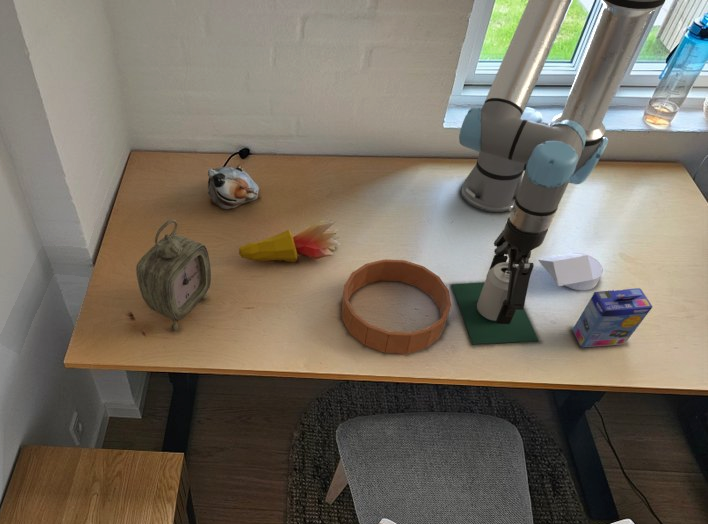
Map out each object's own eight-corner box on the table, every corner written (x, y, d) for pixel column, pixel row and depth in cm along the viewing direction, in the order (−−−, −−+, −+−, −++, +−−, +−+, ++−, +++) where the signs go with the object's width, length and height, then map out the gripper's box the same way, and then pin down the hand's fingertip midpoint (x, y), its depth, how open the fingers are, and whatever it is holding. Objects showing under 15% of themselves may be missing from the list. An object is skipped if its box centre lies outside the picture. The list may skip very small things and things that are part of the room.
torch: (243, 270, 150) (341, 247, 149) (244, 278, 142) (347, 255, 142) (236, 238, 147) (335, 215, 146) (237, 245, 139) (342, 221, 139)
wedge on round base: (553, 296, 136) (605, 286, 137) (564, 275, 131) (617, 264, 132) (532, 270, 141) (583, 260, 143) (542, 248, 136) (594, 238, 138)
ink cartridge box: (581, 349, 126) (610, 302, 115) (570, 329, 129) (597, 281, 118) (627, 345, 126) (660, 298, 115) (614, 326, 130) (646, 277, 119)
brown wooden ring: (342, 276, 142) (344, 257, 137) (439, 280, 140) (444, 261, 136) (341, 350, 128) (344, 332, 123) (450, 356, 126) (456, 337, 121)
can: (511, 302, 134) (528, 263, 125) (509, 326, 130) (526, 287, 121) (477, 295, 136) (491, 256, 127) (473, 319, 132) (488, 280, 122)
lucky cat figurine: (267, 189, 164) (270, 165, 151) (246, 225, 162) (247, 204, 149) (220, 164, 165) (218, 138, 152) (198, 200, 163) (195, 176, 149)
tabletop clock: (176, 338, 131) (158, 252, 112) (144, 323, 134) (121, 237, 115) (214, 297, 139) (203, 210, 120) (183, 283, 142) (167, 196, 123)
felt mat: (451, 285, 139) (451, 284, 139) (511, 282, 139) (511, 280, 139) (472, 345, 127) (472, 343, 127) (538, 341, 128) (538, 340, 127)
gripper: (497, 182, 122) (472, 260, 138) (520, 265, 106) (488, 342, 123) (535, 183, 121) (505, 261, 138) (564, 267, 106) (526, 344, 122)
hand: (497, 299), depth 130 cm, fingers open, 13 cm apart
